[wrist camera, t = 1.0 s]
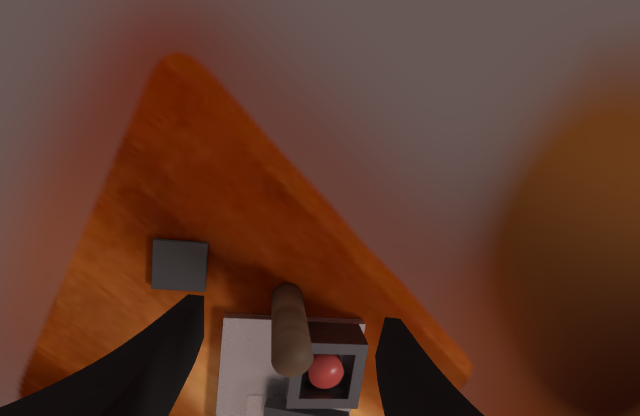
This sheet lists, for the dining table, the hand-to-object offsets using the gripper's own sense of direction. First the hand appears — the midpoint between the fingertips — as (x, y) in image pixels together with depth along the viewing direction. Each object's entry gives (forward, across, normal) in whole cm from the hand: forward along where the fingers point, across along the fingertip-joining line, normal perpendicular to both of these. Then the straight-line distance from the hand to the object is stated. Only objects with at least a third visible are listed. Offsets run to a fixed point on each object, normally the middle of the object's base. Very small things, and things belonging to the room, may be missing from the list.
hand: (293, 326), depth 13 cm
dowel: (+13, +1, +8) cm, 15 cm away
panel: (+12, 0, +15) cm, 19 cm away
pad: (+12, +9, +6) cm, 16 cm away
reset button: (+11, -3, +13) cm, 17 cm away
